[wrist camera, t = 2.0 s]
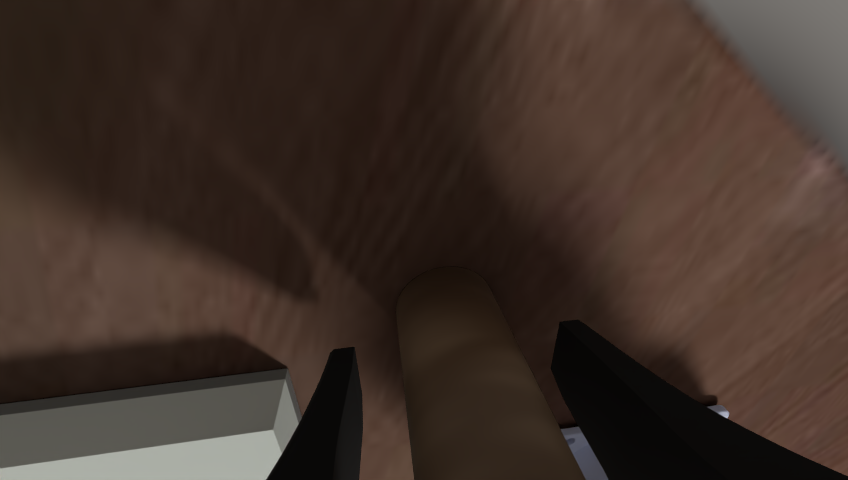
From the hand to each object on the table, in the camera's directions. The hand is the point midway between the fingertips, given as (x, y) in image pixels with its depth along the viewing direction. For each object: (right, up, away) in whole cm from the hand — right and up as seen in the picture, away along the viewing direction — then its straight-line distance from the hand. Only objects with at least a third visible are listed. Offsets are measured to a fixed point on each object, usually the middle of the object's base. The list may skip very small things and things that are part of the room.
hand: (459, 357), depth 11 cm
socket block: (-11, -6, +4) cm, 13 cm away
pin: (0, +1, +2) cm, 2 cm away
